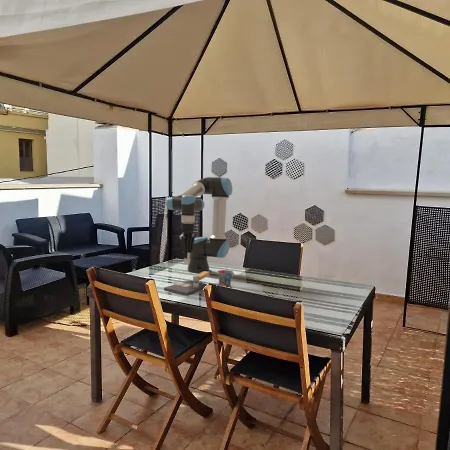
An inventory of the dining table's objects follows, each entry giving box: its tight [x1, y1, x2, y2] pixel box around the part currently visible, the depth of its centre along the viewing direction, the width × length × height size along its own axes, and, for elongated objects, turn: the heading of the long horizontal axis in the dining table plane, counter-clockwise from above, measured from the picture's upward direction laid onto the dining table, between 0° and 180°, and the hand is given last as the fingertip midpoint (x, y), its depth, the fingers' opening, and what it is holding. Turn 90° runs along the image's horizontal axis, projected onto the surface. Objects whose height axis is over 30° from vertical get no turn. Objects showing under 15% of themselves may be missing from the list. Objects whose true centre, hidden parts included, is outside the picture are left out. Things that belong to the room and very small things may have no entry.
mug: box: [216, 269, 235, 289], centre depth 221 cm, size 12×9×11 cm
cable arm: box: [192, 271, 210, 282], centre depth 224 cm, size 4×17×3 cm, turn 160°
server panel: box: [163, 279, 208, 296], centre depth 221 cm, size 22×16×5 cm
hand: (186, 263), depth 220 cm, fingers closed
